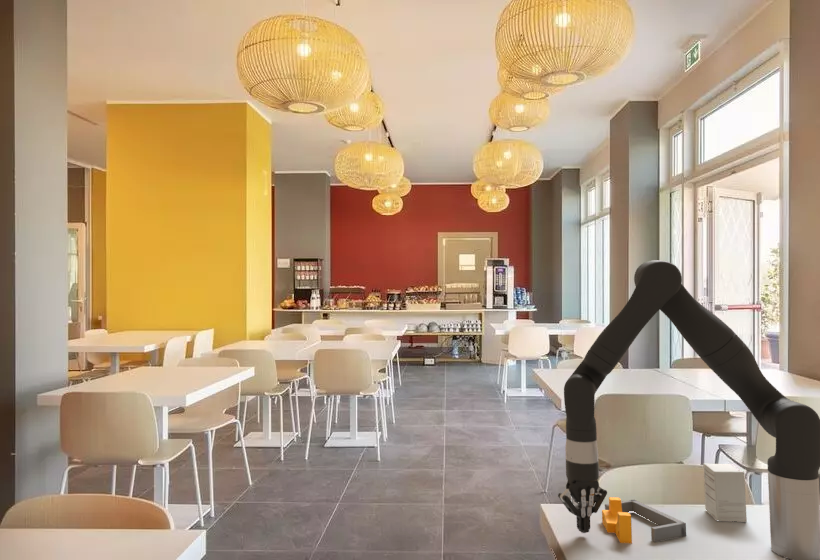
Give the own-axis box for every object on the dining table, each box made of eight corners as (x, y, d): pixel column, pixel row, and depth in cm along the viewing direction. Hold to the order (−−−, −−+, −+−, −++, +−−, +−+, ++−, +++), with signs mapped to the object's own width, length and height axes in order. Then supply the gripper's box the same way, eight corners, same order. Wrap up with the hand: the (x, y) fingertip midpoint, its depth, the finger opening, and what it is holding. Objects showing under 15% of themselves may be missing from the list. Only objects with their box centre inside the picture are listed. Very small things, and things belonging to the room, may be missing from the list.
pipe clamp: (602, 522, 137) (601, 496, 138) (620, 523, 137) (619, 497, 137) (612, 543, 126) (611, 514, 126) (631, 544, 125) (631, 515, 125)
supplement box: (734, 511, 143) (732, 463, 144) (747, 522, 136) (745, 471, 137) (704, 510, 144) (702, 462, 145) (716, 521, 137) (714, 470, 138)
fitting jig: (634, 510, 145) (634, 499, 145) (686, 535, 129) (685, 523, 129) (605, 515, 141) (604, 504, 142) (654, 542, 125) (654, 529, 126)
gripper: (568, 465, 124) (570, 542, 123) (615, 459, 128) (617, 533, 128) (549, 456, 131) (550, 529, 130) (594, 451, 136) (596, 521, 135)
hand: (583, 531), depth 129 cm, fingers closed
